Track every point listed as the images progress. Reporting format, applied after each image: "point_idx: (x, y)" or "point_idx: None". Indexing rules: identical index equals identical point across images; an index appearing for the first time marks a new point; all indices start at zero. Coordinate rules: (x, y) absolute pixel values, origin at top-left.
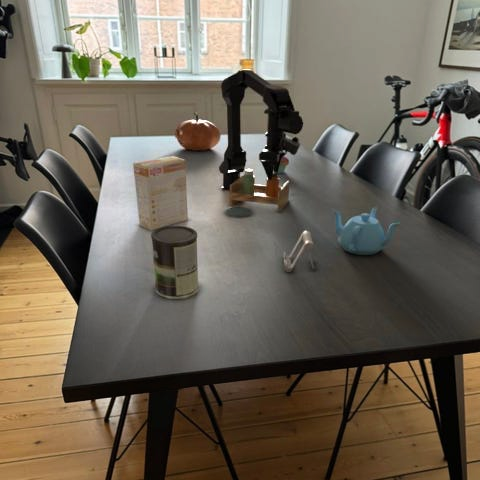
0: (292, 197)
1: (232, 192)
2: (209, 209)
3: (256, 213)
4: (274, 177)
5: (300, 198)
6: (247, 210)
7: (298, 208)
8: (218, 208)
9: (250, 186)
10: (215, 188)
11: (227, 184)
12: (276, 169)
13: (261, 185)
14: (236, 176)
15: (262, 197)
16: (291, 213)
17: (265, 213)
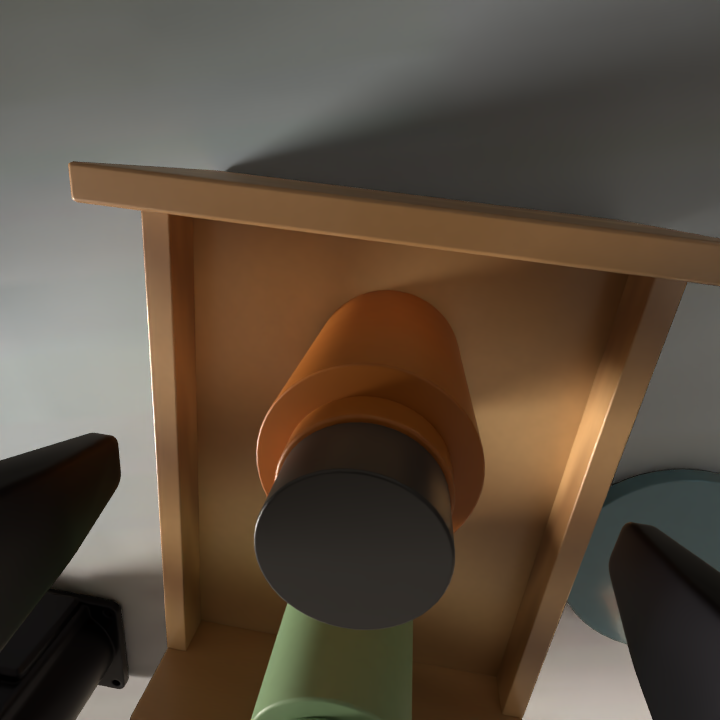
0: (82, 138)
1: (505, 715)
2: (584, 716)
3: (666, 431)
4: (443, 470)
5: (77, 35)
6: (660, 513)
7: (452, 11)
8: (555, 674)
9: (404, 628)
10: (126, 706)
11: (96, 686)
12: (63, 502)
13: (177, 502)
14: (18, 704)
15: (612, 462)
16: (654, 80)
17: (663, 357)
